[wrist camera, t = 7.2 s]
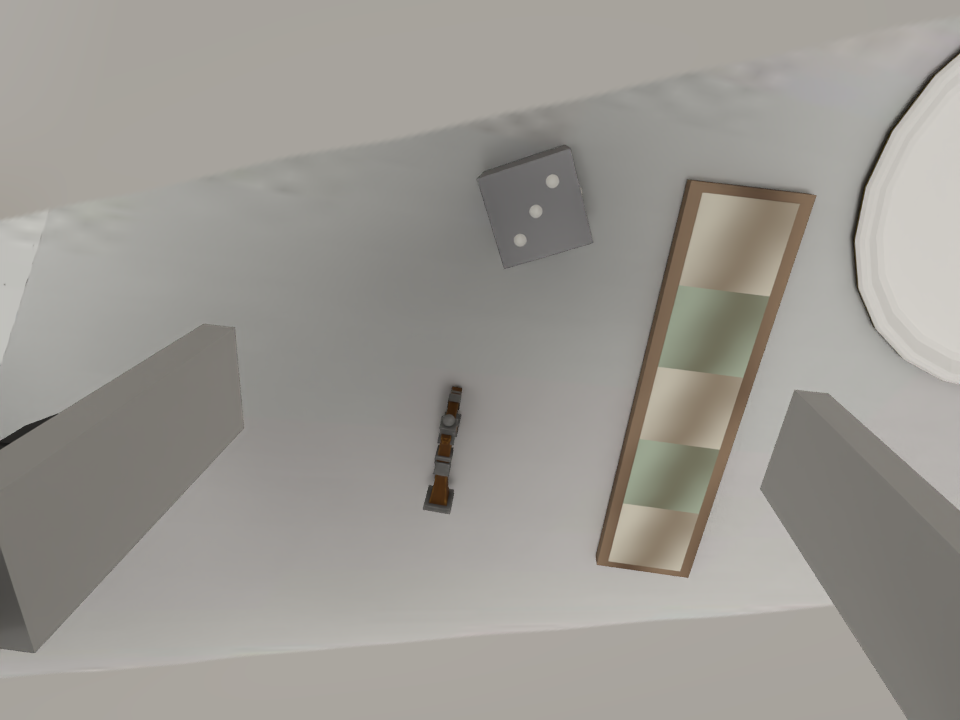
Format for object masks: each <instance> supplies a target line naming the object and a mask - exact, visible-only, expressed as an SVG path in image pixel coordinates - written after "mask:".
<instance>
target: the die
mask: <svg viewBox="0 0 960 720" xmlns="http://www.w3.org/2000/svg"><path fill="white" fill-rule="evenodd" d="M477 181H478V184H479V187H480V191H481V194H482V197H483V201H484V204H485V207H486V210H487V214H488V217H489V220H490V223H491V227H492V230H493V233H494V237H495V240H496V243H497V246H498V250H499V253H500V256H501V260H502V263H503V266H504V269H506V268H510V267H513V266H516V265H520V264H523V263H527V262H530V261H533V260H537V259H540V258H544V257H547V256H551V255H554V254H557V253H561V252H564V251H568V250H571V249H575V248H578V247H581V246H585V245H588V244H592V243H593V240H592V236H591V231H590V227H589V223H588V219H587V215H586V211H585V206H584V202H583V198H582V193H583V192H582V188H581V187H580V186H579V182H578V177H577V173H576V169H575V165H574V161H573V157H572V153H571V148H569V147H568V146H566V145H562V146H559V147H556V148H553V149H550V150H547V151H544V152H541V153H538V154H535V155H532V156H529V157H526V158H523V159H520V160H517V161H514V162H511V163H508V164H505V165H502V166H499V167H496V168H493V169H490V170H487V171H484V172H483V173H482V174H481V175H480V176H479V177H478V178H477Z"/></svg>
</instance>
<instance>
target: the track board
mask: <svg viewBox="0 0 960 720" xmlns="http://www.w3.org/2000/svg"><path fill="white" fill-rule="evenodd" d="M815 198H816V195H812V194H807V193H799V192H790V191H781V190H773V189H764V188H756V187H747V186H739V185H730V184H722V183H713V182H705V181H696V180H688V179H687V183H686V187H685V191H684V196H683V200H682V204H681V208H680V212H679V216H678V220H677V224H676V228H675V233H674V237H673V241H672V245H671V249H670V253H669V257H668V261H667V265H666V270H665V274H664V278H663V282H662V286H661V290H660V294H659V298H658V302H657V307H656V311H655V315H654V319H653V323H652V327H651V331H650V335H649V339H648V344H647V348H646V352H645V356H644V360H643V364H642V368H641V372H640V376H639V381H638V385H637V389H636V393H635V397H634V401H633V405H632V409H631V413H630V418H629V422H628V426H627V430H626V434H625V438H624V442H623V446H622V450H621V455H620V459H619V463H618V467H617V471H616V475H615V479H614V483H613V487H612V492H611V496H610V500H609V504H608V508H607V512H606V516H605V520H604V524H603V529H602V533H601V537H600V541H599V545H598V549H597V553H596V562H597V565H602V566H609V567H616V568H623V569H630V570H637V571H644V572H651V573H658V574H665V575H672V576H679V577H686V578H688V577H689V574H690V571H691V568H692V565H693V562H694V559H695V556H696V553H697V550H698V547H699V544H700V541H701V538H702V535H703V532H704V529H705V526H706V523H707V520H708V517H709V514H710V511H711V508H712V505H713V502H714V499H715V496H716V493H717V490H718V487H719V484H720V481H721V478H722V475H723V472H724V469H725V466H726V463H727V461H728V458H729V455H730V452H731V449H732V446H733V443H734V440H735V437H736V434H737V431H738V428H739V425H740V422H741V419H742V416H743V413H744V410H745V407H746V404H747V401H748V398H749V395H750V392H751V389H752V386H753V383H754V380H755V377H756V374H757V371H758V368H759V365H760V362H761V359H762V356H763V353H764V350H765V347H766V344H767V341H768V338H769V335H770V332H771V329H772V326H773V323H774V320H775V317H776V315H777V312H778V309H779V306H780V303H781V300H782V297H783V294H784V291H785V288H786V285H787V282H788V279H789V276H790V273H791V270H792V267H793V264H794V261H795V258H796V255H797V252H798V249H799V246H800V243H801V240H802V237H803V234H804V231H805V228H806V225H807V222H808V219H809V216H810V213H811V210H812V207H813V204H814V201H815Z"/></svg>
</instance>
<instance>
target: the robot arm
mask: <svg viewBox="0 0 960 720" xmlns="http://www.w3.org/2000/svg"><path fill="white" fill-rule="evenodd" d="M243 429H244V422H243V411H242V400H241V390H240V379H239V368H238V357H237V346H236V335H235V327H226V326H217V325H208V324H202V325H201V326H199V327H198V328H196V329H194V330H193V331H191V332H190V333H188V334H186V335H185V336H183V337H181V338H180V339H178V340H177V341H175V342H173V343H172V344H170V345H169V346H167V347H165V348H164V349H162V350H161V351H159V352H157V353H156V354H154V355H152V356H151V357H149V358H148V359H146V360H144V361H143V362H141V363H140V364H138V365H136V366H135V367H133V368H131V369H130V370H128V371H127V372H125V373H123V374H122V375H120V376H119V377H117V378H115V379H114V380H112V381H110V382H109V383H107V384H106V385H104V386H102V387H101V388H99V389H98V390H96V391H94V392H93V393H91V394H89V395H88V396H86V397H85V398H83V399H81V400H80V401H78V402H77V403H75V404H73V405H72V406H70V407H68V408H67V409H65V410H64V411H62V412H60V413H59V414H56V415H53V416H50V417H47V418H45V419H42V420H39V421H37V422H34V423H31V424H29V425H26V426H24V427H22V428H21V429H19V430H17V431H16V432H14V433H12V434H11V435H9V436H7V437H6V438H4V439H2V440H1V441H0V649H7V650H15V651H22V652H30V653H35V652H36V651H37V650H38V649H39V648H40V647H41V646H42V645H43V644H44V643H45V642H46V641H47V640H48V638H49V637H50V636H51V635H52V634H53V633H54V632H55V631H56V630H57V629H58V628H59V627H60V626H61V624H62V623H63V622H64V621H65V620H66V619H67V618H68V617H69V616H70V615H71V614H72V613H73V612H74V610H75V609H76V608H77V607H78V606H79V605H80V604H81V603H82V602H83V601H84V600H85V599H86V598H87V596H88V595H89V594H90V593H91V592H92V591H93V590H94V589H95V588H96V587H97V586H98V585H99V584H100V582H101V581H102V580H103V579H104V578H105V577H106V576H107V575H108V574H109V573H110V572H111V571H112V570H113V568H114V567H115V566H116V565H117V564H118V563H119V562H120V561H121V560H122V559H123V558H124V557H125V556H126V554H127V553H128V552H129V551H130V550H131V549H132V548H133V547H134V546H135V545H136V544H137V543H138V542H139V540H140V539H141V538H142V537H143V536H144V535H145V534H146V533H147V532H148V531H149V530H150V529H151V528H152V526H153V525H154V524H155V523H156V522H157V521H158V520H159V519H160V518H161V517H162V516H163V515H164V514H165V512H166V511H167V510H168V509H169V508H170V507H171V506H172V505H173V504H174V503H175V502H176V501H177V500H178V498H179V497H180V496H181V495H182V494H183V493H184V492H185V491H186V490H187V489H188V488H189V487H190V486H191V485H192V483H193V482H194V481H195V480H196V479H197V478H198V477H199V476H200V475H201V474H202V473H203V472H204V471H205V469H206V468H207V467H208V466H209V465H210V464H211V463H212V462H213V461H214V460H215V459H216V458H217V457H218V455H219V454H220V453H221V452H222V451H223V450H224V449H225V448H226V447H227V446H228V445H229V444H230V443H231V441H232V440H233V439H234V438H235V437H236V436H237V435H238V434H239V433H240V432H241V431H242V430H243ZM760 490H761V491H762V493H763V494H764V496H765V497H766V499H767V501H768V502H769V504H770V505H771V507H772V508H773V510H774V511H775V513H776V515H777V516H778V518H779V519H780V521H781V522H782V524H783V526H784V527H785V529H786V530H787V532H788V533H789V535H790V536H791V538H792V540H793V541H794V543H795V544H796V546H797V547H798V549H799V551H800V552H801V554H802V555H803V557H804V558H805V560H806V561H807V563H808V565H809V566H810V568H811V569H812V571H813V572H814V574H815V576H816V577H817V579H818V580H819V582H820V583H821V585H822V586H823V588H824V590H825V591H826V593H827V594H828V596H829V597H830V599H831V601H832V602H833V604H834V605H835V607H836V608H837V610H838V611H839V613H840V614H841V616H842V618H843V619H844V621H845V622H846V624H847V625H848V627H849V629H850V630H851V632H852V633H853V635H854V636H855V638H856V639H857V641H858V643H859V644H860V646H861V647H862V649H863V650H864V652H865V654H866V655H867V657H868V658H869V660H870V661H871V663H872V665H873V666H874V668H875V669H876V671H877V672H878V674H879V675H880V677H881V679H882V680H883V682H884V683H885V685H886V687H887V688H888V690H889V691H890V693H891V694H892V696H893V697H894V699H895V700H896V702H897V704H898V705H899V707H900V708H901V710H902V711H903V713H904V714H905V716H906V718H907V719H908V720H960V511H959V510H958V509H957V508H956V507H955V506H954V505H953V504H951V503H950V502H949V501H948V500H947V499H946V498H945V497H944V496H943V495H941V494H940V493H939V492H938V491H937V490H936V489H935V488H934V487H932V486H931V485H930V484H929V483H928V482H927V481H926V480H925V479H923V478H922V477H921V476H920V475H919V474H918V473H917V472H916V471H915V470H913V469H912V468H911V467H910V466H909V465H908V464H907V463H906V462H904V461H903V460H902V459H901V458H900V457H899V456H898V455H897V454H895V453H894V452H893V451H892V450H891V449H890V448H889V447H888V446H887V445H885V444H884V443H883V442H882V441H881V440H880V439H879V438H878V437H876V436H875V435H874V434H873V433H872V432H871V431H870V430H869V429H868V428H866V427H865V426H864V425H863V424H862V423H861V422H860V421H859V420H857V419H856V418H855V417H854V416H853V415H852V414H851V413H850V412H848V411H847V410H846V409H845V408H844V407H843V406H842V405H841V404H840V403H838V402H837V401H836V400H835V399H834V398H833V397H832V396H831V395H829V394H828V393H819V392H810V391H801V390H794V393H793V396H792V398H791V401H790V404H789V407H788V410H787V413H786V416H785V419H784V421H783V424H782V427H781V430H780V433H779V436H778V439H777V441H776V444H775V447H774V450H773V453H772V456H771V459H770V462H769V464H768V467H767V470H766V473H765V476H764V479H763V482H762V485H761V487H760Z"/></svg>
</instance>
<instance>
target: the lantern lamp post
mask: <svg viewBox="0 0 960 720" xmlns="http://www.w3.org/2000/svg"><path fill="white" fill-rule="evenodd" d="M461 393H462V388H458V387H452V390H451V393H450V395H449V400H448V407H447V408H448V409H447V412H445V416H444V417H443V416H442V419H441V424H440V433H439V438H438V443H440V445H438V448H437V452H436V456H435V469H434V473H433V474H435V481H434V485H433V486H431V485H429V487H428V490H427V494H426V498H425V502H424V506H423V510H428V511H434V512H439V513H445V514H450V511H451V506H452V501H453V496H454V490H453V489H449V487H448V476H449V472H450V467H451V460H452V455H453V448H452V445H454V439H455V437H457V432H458V427H459V423H460V419H461V414H457V413H458V410H459V406H460V401H461Z"/></svg>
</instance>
